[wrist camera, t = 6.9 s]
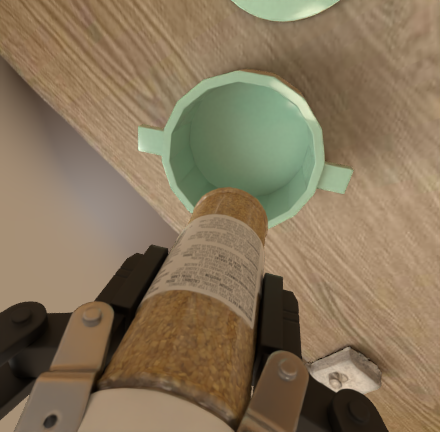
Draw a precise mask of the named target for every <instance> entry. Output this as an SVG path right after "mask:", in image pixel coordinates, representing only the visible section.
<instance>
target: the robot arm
mask: <svg viewBox="0 0 440 432" xmlns="http://www.w3.org/2000/svg"><path fill="white" fill-rule="evenodd" d="M167 256H168V248H164V247H160V246H155V245H151V246H149V248H148V249H147V251H146V252H145V254H144V255H143V254H139V253H136V254H134V255H133V256H131V257H129V258H127V259H126V261H125V262H124V263H123V264H122V266H121V268H120V269H119V270H118V271H117V272H116V274H115V275H114V276H113V278H112V279H111V280H110V281H109V283H108V284H107V285H106V287H105V288H104V289H103V290H102V292H101V293H100V294H99V296H98V297H97V298H96V299H95V301H94V302H89V303H86V304H83V305H81V306H80V307H78V308H77V309H76V310H75V311H74V312H72V313H47V312H46V309H45V307H44V306H43V305H42V304H40V303H38V302H22V303H18V304H16V305H13V306H11V307H9V308H8V309H6V310H4V311H3V312H1V313H0V420H1V419H2V418H3V417H4V416H5V415H7V414H8V413H9V412H10V411H11V410H12V409H13V408H15V407H16V406H17V405H18V404H19V403H20V402H21V401H22V400H23V399H24V398H26V397H27V396H28V395H29V394H30V395H29V398H28V400H27V402H26V404H25V407H24V409H23V412H22V414H21V416H20V418H19V421H18V423H17V425H16V427H15V430H14V432H78V429H79V427H80V425H81V423H82V420H83V417H84V414H85V411H86V408H87V405H88V402H89V399H90V396H91V394H93V393H95V392H97V381H98V380H99V379H101V378H102V375H103V373H104V372H105V369H106V368H107V366H108V364H109V363H110V361H111V358H112V356H113V355H114V353H115V352H116V350H117V348H118V347H119V345H120V343H121V341H122V339H123V337H124V335H125V334H126V332H127V330H128V329H129V327H130V325H131V323H132V321H133V320H134V318H135V313H136V310H137V308H138V306H139V305H140V303H141V301H142V299H143V298H144V296H145V294H146V293H147V291H148V289H149V287H150V286H151V284H152V282H153V280H154V279H155V277H156V275H157V273H158V272H159V270H160V268H161V266H162V265H163V263H164V261H165V259H166V258H167ZM298 314H299V309H298V301H297V299H296V297H295V296H294V294H293V292H291V291H287V290H283V277H281V276H277V275H273V274H269V273H265V275H264V278H263V285H262V298H261V302H260V309H259V316H258V328H257V341H256V346H255V347H256V351H255V357H254V366H253V378H252V385H251V386H254V387H253V395H252V398H251V400H250V402H249V405H248V407H247V409H246V412H245V414H244V416H243V418H242V420H241V423H240V425H239V428H238V430H237V432H389V431H388V430H387V428H386V426H385V424H384V422H383V420H382V418H381V416H380V414H379V412H378V411H377V409H376V407H375V406H374V405H373V403H372V402H371V401H370V400H369V399H368V398H367V397H366V396H364V395H363V394H362V393H360V392H358V391H356V390H353V389H347V388H346V389H341V390H339V391H338V392H335V391H333V390H332V389H330V388H328V387H327V386H325V385H323V384H322V383H320V382H319V381H317V380H316V379H315V378H313V377H312V375H311V374H310V373H309V372H308V370H307V367H306V366H305V364H304V363H303V361H302V355H301V340H300V324H299V315H298Z"/></svg>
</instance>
